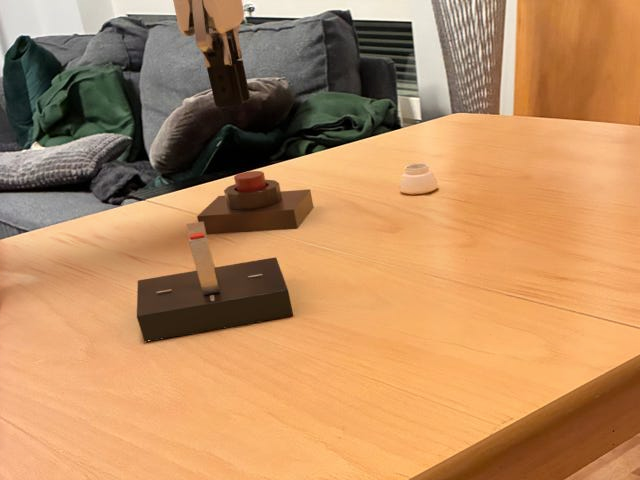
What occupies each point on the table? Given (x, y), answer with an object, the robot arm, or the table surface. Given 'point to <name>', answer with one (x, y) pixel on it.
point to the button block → (256, 210)
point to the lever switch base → (212, 300)
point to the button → (250, 181)
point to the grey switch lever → (203, 258)
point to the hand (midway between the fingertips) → (233, 101)
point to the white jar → (418, 179)
